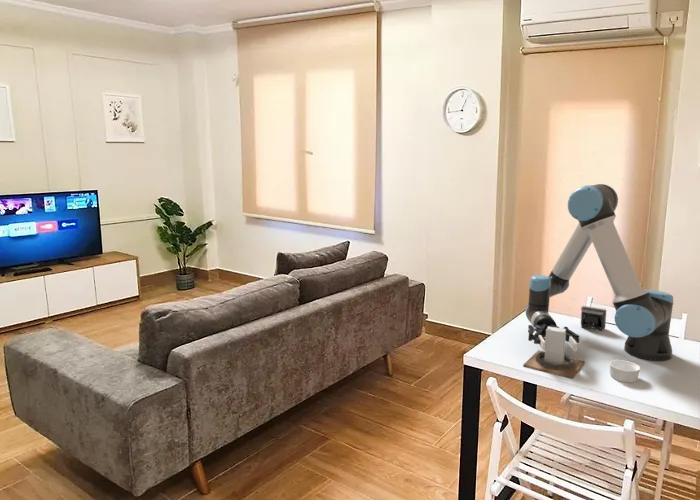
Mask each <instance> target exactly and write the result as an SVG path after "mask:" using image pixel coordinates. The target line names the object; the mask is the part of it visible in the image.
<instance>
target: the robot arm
mask: <svg viewBox="0 0 700 500" xmlns="http://www.w3.org/2000/svg"><path fill="white" fill-rule="evenodd" d="M618 204H619V197H618V193H617V191H615V189H614V188H613V187H611V186H609V185H607V184H603V183H598V184H594V185H593V184H591V185H590V184H589V185H584V186H581V187H579V188H576V189H575V190H574V191H572V193H570V196H569V197H568V199H567V210H568V213H569V215H570V216H571V217H572V218H573V219H575V220H577V222H578V224H577V226H576V227H575V229H574V231H573V233H572V234H571V236H570V238H569V240H568V241H567V243H566V245H565V247H564V248H563V251H562V252H561V254H560V255H559V258H557V261H556V263H555V264H554V265H553V267H552V270H551V271H550V273H549V275H548V276H547V275H545V274H534V275H532V276H531V277H530V282H529V285H528V286H529V290H528V305H527V307H526V308H525V316H526V319H527V320H528V322H529V323H530V324H529V325H528V326H527V327H528V328H527V333H528V341H529V342H532V341H533V344H535V345H539V347H540V348H541V351H545V341H546V340H544V337H545V338H546V329H547V328H548V326H549V327H556V328H560V327H559V326H558V325H557V323H556V321H555V320H554V318H553V317H552V316H551V315H550V314H549V310H550V309H549V308H550V298H552V297H554V296H557V295H560V294H563V293H564V292H565V291H568V288H569V287H570V280H571V278H572V277H573V275H574V273H575V272H576V270H577V268H578V267H579V265H580V263H581V262H582V260H583V258H584V257H585V255H586V253H587V252H588V250H589V248H590V247H591V245H592V244H593V247H594V249H595V251H596V253H597V257H598V259H599V260H600V263H601V266H602V268H603V270H604V273H605V275H606V277H607V280H608V282H609V285H610V287H611V290H612V292H613V294H614V298H613V299H612V304H613V306H614V309H615V314H614V323H615V326H616V327H617V328H618V330H619V331H620V332H621V333H623V334H624V335H626V336H627V338H626V340H625V342H624V347H623V348H624V349H623V350H624V351H625V352H626V353H628V354H629V355H631V356H633V357H636V358H638V359H639V358H640V359H643V360H648V361H657V362H658V361H662V362H663V361H668V360H671V359H672V357H673V348H672V344H671V340H670V330H671V329H670V328H671V321H672V314H673V306H674V296H673V295H672V294H671V293H669V292H664V291H661V290H656V289H655V290H654V289H649V288H646V289H645V288H642V286H641V284H640V281H639V279H638V276H637V274H636V272H635V269H634V266H633V264H632V262H631V261H630V258H629V255H628V254H627V250H626V249H625V246H624V244H623V242H622V240H621V237H620V234H619V232H618V230H617V227H616V226H615V223H614V222H615V219H616V217H617V215H616V213H615V211H616V210H617V207H618ZM562 329H566V340H565V342H568V345H569V346H570V347H571V349H572V350H573V351H574V352H577V350H578V344H579V343H580V335H579V334H577V333H576V332H574V331H573V330H572V329H571V330H570V329H569V327H568V326H564V327H562ZM534 333H535V334H534Z"/></svg>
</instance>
